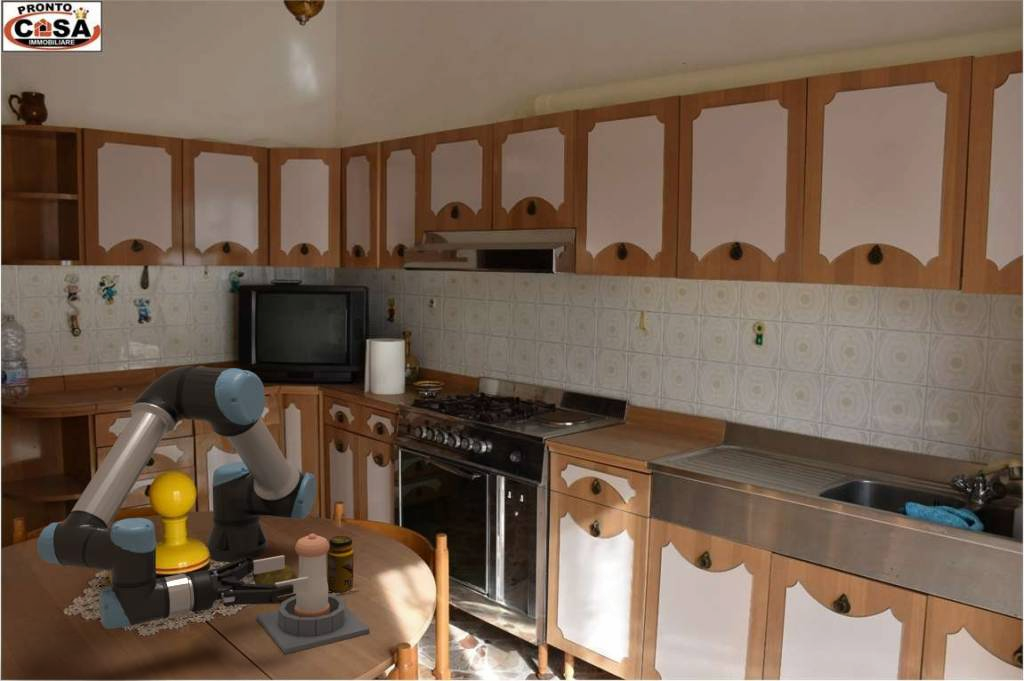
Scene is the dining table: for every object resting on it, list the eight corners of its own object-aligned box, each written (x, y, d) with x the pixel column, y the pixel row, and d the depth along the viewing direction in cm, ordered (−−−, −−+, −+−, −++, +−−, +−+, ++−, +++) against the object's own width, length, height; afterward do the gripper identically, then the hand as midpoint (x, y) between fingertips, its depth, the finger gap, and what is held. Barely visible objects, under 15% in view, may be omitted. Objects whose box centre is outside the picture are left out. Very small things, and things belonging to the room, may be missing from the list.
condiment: (359, 590, 199) (360, 541, 198) (324, 598, 195) (325, 547, 193) (347, 580, 205) (347, 531, 204) (313, 586, 201) (313, 537, 199)
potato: (287, 609, 188) (287, 575, 187) (246, 596, 194) (246, 562, 193) (314, 597, 195) (314, 563, 194) (273, 584, 201) (273, 551, 200)
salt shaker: (287, 625, 178) (287, 536, 176) (308, 611, 185) (308, 526, 183) (316, 632, 175) (316, 542, 173) (336, 618, 182) (337, 531, 180)
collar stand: (256, 619, 183) (256, 599, 182) (335, 601, 193) (336, 582, 192) (285, 654, 168) (285, 632, 167) (369, 633, 178) (369, 612, 177)
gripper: (173, 589, 175) (275, 570, 187) (206, 637, 155) (317, 612, 167) (173, 554, 174) (275, 536, 186) (206, 597, 154) (318, 575, 166)
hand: (295, 572), depth 176 cm, fingers open, 13 cm apart
